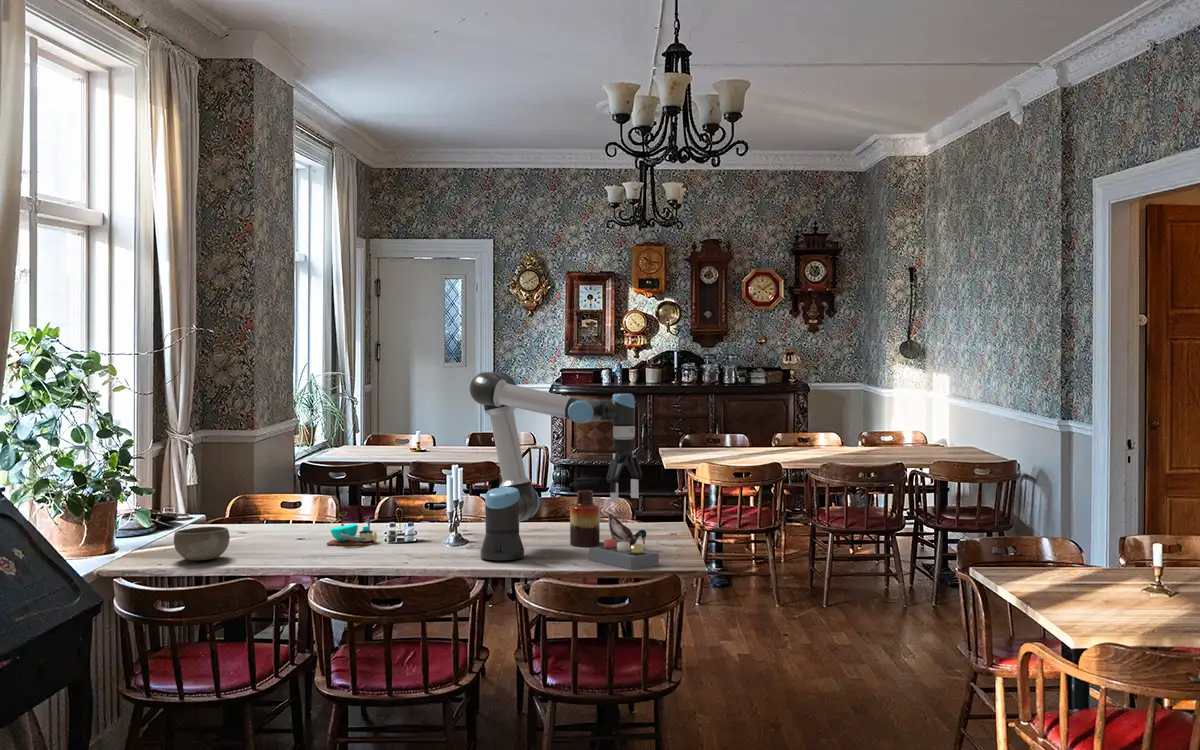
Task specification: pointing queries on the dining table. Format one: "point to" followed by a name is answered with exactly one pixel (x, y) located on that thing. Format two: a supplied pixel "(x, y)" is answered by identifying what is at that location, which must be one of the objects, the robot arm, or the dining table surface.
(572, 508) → the vase
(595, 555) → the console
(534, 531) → the dining table surface
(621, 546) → the ivory button
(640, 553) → the gold rounded piece
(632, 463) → the robot arm
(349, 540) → the contraption on wooden base
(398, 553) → the dining table surface
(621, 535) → the decorative duck model
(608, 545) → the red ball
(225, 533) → the bowl
